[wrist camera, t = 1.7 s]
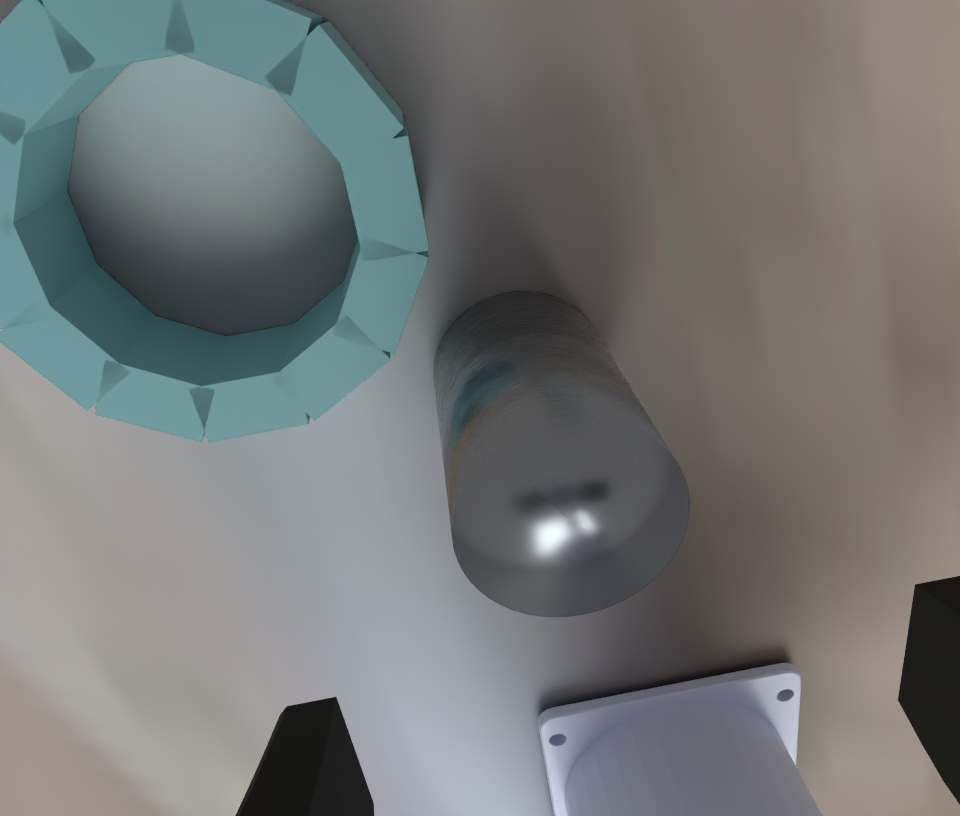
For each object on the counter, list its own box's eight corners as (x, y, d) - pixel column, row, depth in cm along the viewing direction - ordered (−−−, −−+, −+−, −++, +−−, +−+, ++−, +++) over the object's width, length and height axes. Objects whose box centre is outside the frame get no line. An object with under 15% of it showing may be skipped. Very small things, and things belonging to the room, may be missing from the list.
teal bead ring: (449, 346, 18) (457, 395, 15) (99, 411, 17) (58, 470, 15) (371, -59, 14) (368, -71, 12) (-75, 19, 14) (-164, 23, 11)
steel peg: (609, 429, 19) (693, 593, 14) (449, 459, 19) (473, 635, 14) (595, 276, 17) (686, 397, 12) (419, 309, 17) (431, 445, 12)
